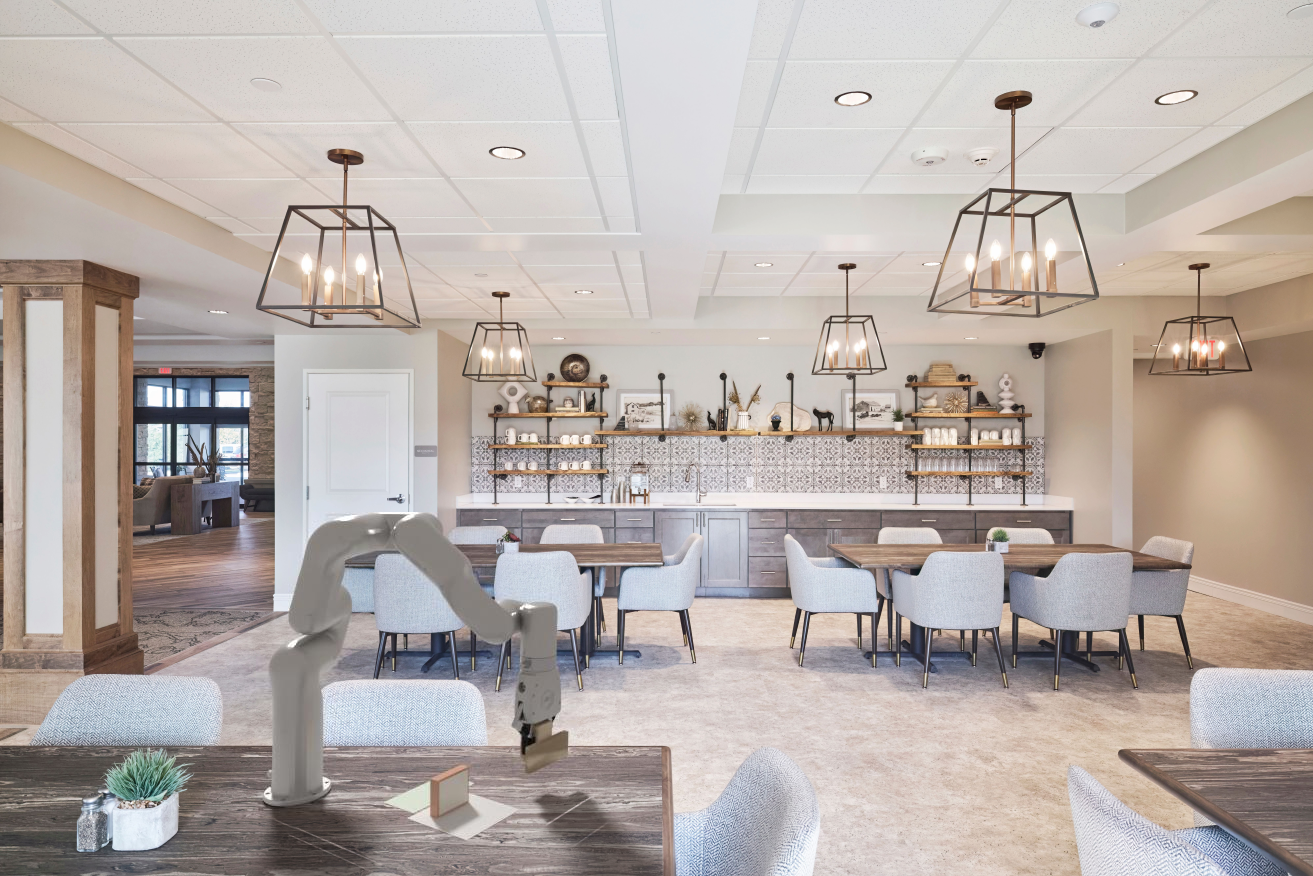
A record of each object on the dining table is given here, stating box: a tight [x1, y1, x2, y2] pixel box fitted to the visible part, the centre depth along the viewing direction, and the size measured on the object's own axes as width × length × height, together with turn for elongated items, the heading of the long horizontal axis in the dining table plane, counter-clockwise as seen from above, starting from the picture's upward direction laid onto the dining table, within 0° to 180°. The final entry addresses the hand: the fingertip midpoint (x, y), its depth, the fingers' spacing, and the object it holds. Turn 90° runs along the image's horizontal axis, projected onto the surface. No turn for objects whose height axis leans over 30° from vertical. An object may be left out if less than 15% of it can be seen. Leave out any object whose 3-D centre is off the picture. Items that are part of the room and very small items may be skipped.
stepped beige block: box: [519, 719, 569, 775], centre depth 156 cm, size 6×12×8 cm, turn 148°
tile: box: [429, 764, 470, 818], centre depth 147 cm, size 2×8×7 cm, turn 148°
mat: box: [406, 792, 521, 841], centre depth 145 cm, size 16×14×1 cm
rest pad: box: [383, 780, 475, 815], centre depth 154 cm, size 9×16×1 cm, turn 148°
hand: (535, 750), depth 156 cm, fingers closed on stepped beige block, 4 cm apart
